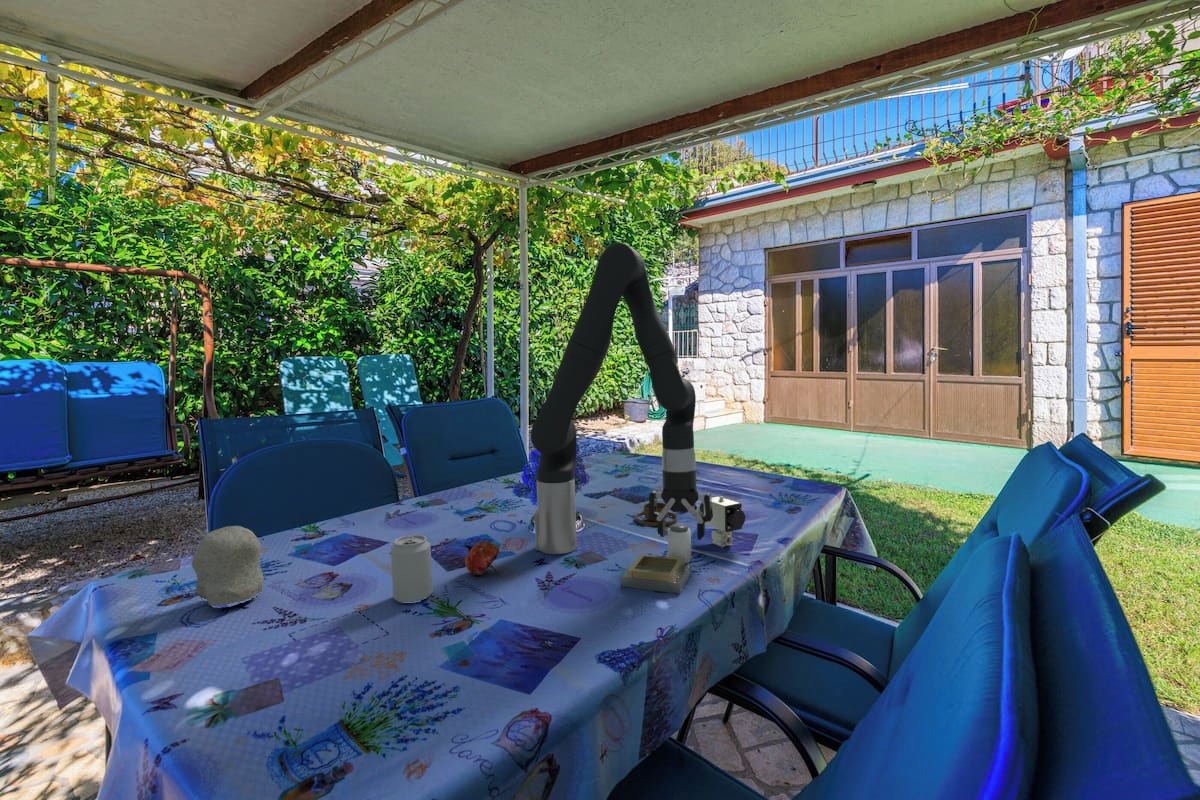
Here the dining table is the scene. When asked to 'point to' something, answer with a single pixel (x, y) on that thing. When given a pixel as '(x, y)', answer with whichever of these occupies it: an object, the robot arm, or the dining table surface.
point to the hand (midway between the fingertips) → (681, 537)
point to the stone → (228, 566)
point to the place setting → (646, 513)
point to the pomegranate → (481, 557)
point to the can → (411, 568)
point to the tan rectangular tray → (657, 574)
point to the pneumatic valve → (724, 519)
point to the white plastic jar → (679, 542)
